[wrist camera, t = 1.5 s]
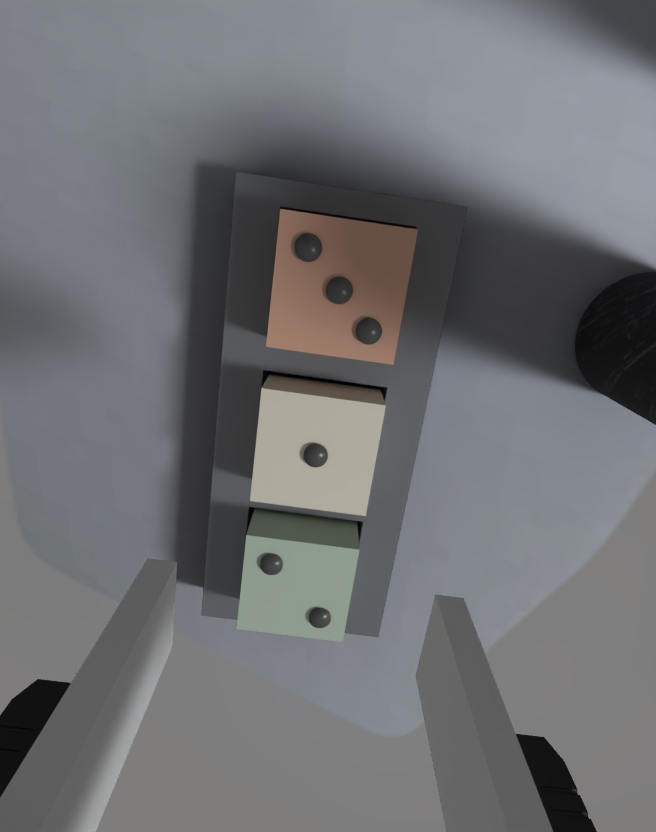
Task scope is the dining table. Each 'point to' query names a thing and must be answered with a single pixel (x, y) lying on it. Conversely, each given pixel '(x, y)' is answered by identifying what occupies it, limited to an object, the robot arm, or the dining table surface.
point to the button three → (339, 286)
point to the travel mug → (622, 344)
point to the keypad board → (253, 360)
